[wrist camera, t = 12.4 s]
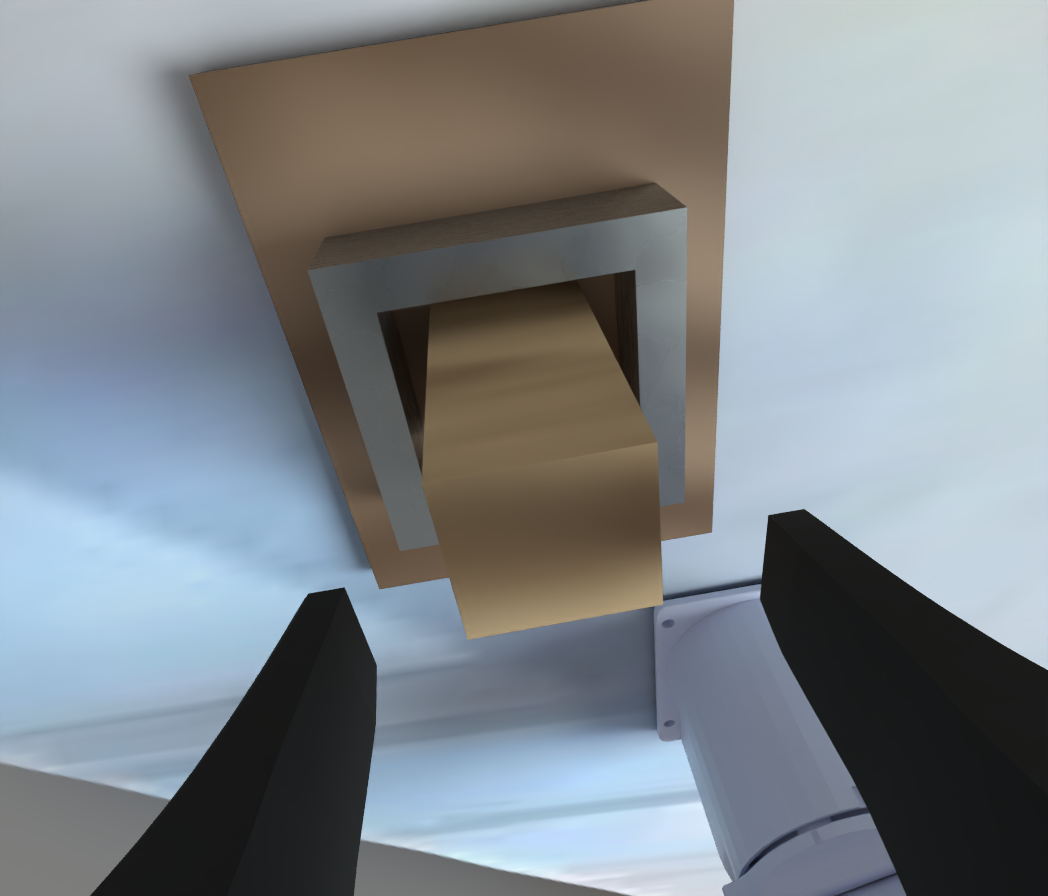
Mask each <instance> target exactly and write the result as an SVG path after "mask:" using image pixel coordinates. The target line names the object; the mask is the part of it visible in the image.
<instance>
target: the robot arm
mask: <svg viewBox="0 0 1048 896" xmlns="http://www.w3.org/2000/svg"><path fill="white" fill-rule="evenodd" d="M668 619H669V620H668ZM665 620H666V621H665ZM654 641H655V676H656V710H657V732H658V736H659V738H660V739H661V740H662V741H674V740H679V739H681V740H682V743H683V746H684V749H685V752H686V755H687V758H688V761H689V764H690V767H691V770H692V774H693V777H694V780H695V783H696V786H697V789H698V792H699V795H700V798H701V801H702V804H703V807H704V810H705V813H706V816H707V819H708V822H709V825H710V829H711V832H712V835H713V838H714V841H715V844H716V847H717V850H718V853H719V856H720V858H721V861H722V863H723V865H724V868H725V870H726V871H727V873H728V875H729V876H730V878H731V880H732V881H733V882H731V883H729V884H727V885H724V886H723V888H722V890H723V893H724V896H1048V670H1047V669H1045V668H1043V667H1041V666H1039V665H1037V664H1036V663H1034V662H1032V661H1030V660H1028V659H1027V658H1025V657H1023V656H1021V655H1019V654H1018V653H1016V652H1014V651H1013V650H1011V649H1009V648H1007V647H1006V646H1004V645H1002V644H1001V643H999V642H997V641H996V640H994V639H992V638H991V637H989V636H987V635H986V634H984V633H983V632H981V631H979V630H978V629H976V628H975V627H973V626H971V625H970V624H968V623H967V622H965V621H963V620H962V619H960V618H959V617H957V616H955V615H954V614H952V613H951V612H949V611H948V610H946V609H945V608H943V607H941V606H940V605H938V604H937V603H935V602H934V601H932V600H931V599H929V598H928V597H926V596H925V595H923V594H922V593H920V592H919V591H917V590H916V589H915V588H913V587H912V586H910V585H909V584H907V583H906V582H904V581H903V580H901V579H900V578H899V577H897V576H896V575H894V574H893V573H891V572H890V571H889V570H887V569H886V568H884V567H883V566H882V565H880V564H879V563H877V562H876V561H875V560H873V559H872V558H870V557H869V556H868V555H866V554H865V553H864V552H862V551H861V550H859V549H858V548H857V547H855V546H854V545H853V544H851V543H850V542H849V541H847V540H846V539H844V538H843V537H842V536H840V535H839V534H838V533H836V532H835V531H834V530H832V529H831V528H830V527H828V526H827V525H825V524H824V523H823V522H821V521H820V520H819V519H817V518H816V517H814V516H813V515H812V514H810V513H809V512H808V511H806V510H805V509H802V510H796V511H790V512H785V513H779V514H773V515H768V525H767V534H766V544H765V553H764V563H763V573H762V582H761V584H758V585H752V586H746V587H740V588H735V589H729V590H723V591H717V592H711V593H706V594H700V595H694V596H688V597H682V598H676V599H671V600H665V601H663V605H658V606H655V608H654ZM376 683H377V665H376V662H375V660H374V658H373V655H372V653H371V650H370V648H369V645H368V643H367V641H366V638H365V636H364V633H363V631H362V628H361V626H360V624H359V621H358V619H357V616H356V614H355V612H354V609H353V607H352V604H351V602H350V599H349V597H348V595H347V592H346V590H345V588H339V589H333V590H327V591H321V592H315V593H310V594H308V595H307V597H306V598H305V599H304V601H303V602H302V604H301V606H300V607H299V609H298V611H297V612H296V614H295V615H294V617H293V619H292V620H291V622H290V624H289V625H288V627H287V629H286V631H285V632H284V634H283V635H282V637H281V639H280V640H279V642H278V644H277V645H276V647H275V649H274V650H273V652H272V654H271V655H270V657H269V658H268V660H267V662H266V663H265V665H264V667H263V668H262V670H261V671H260V673H259V674H258V676H257V678H256V679H255V681H254V682H253V684H252V685H251V687H250V688H249V690H248V691H247V693H246V695H245V696H244V698H243V699H242V701H241V702H240V704H239V705H238V707H237V708H236V710H235V712H234V713H233V715H232V716H231V717H230V719H229V720H228V722H227V723H226V725H225V726H224V728H223V729H222V730H221V732H220V733H219V735H218V736H217V738H216V739H215V740H214V742H213V743H212V745H211V746H210V747H209V749H208V750H207V752H206V753H205V754H204V756H203V757H202V759H201V760H200V762H199V763H198V764H197V766H196V767H195V769H194V770H193V771H192V773H191V774H190V775H189V777H188V778H187V779H186V781H185V782H184V783H183V785H182V786H181V787H180V789H179V790H178V791H177V793H176V794H175V795H174V797H173V798H172V799H171V800H170V802H169V803H168V804H167V806H166V807H165V808H164V810H163V811H162V812H161V813H160V814H159V816H158V817H157V818H156V819H155V821H154V822H153V823H152V824H151V825H150V827H149V828H148V829H147V830H146V832H145V833H144V834H143V835H142V837H141V838H140V839H139V840H138V842H137V843H136V844H135V845H134V846H133V847H132V849H131V850H130V851H129V852H128V853H127V854H126V855H125V857H124V858H123V859H122V860H121V861H120V862H119V864H118V865H117V866H116V867H115V868H114V870H112V872H111V873H110V874H109V875H108V876H107V877H106V879H105V880H104V881H103V882H102V883H101V884H100V885H99V886H98V887H97V889H96V890H95V891H94V892H93V893H92V894H91V895H90V896H354V887H355V878H356V867H357V860H358V852H359V845H360V838H361V830H362V823H363V816H364V809H365V801H366V794H367V787H368V780H369V772H370V765H371V757H372V750H373V742H374V734H375V726H376Z"/></svg>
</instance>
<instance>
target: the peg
mask: <svg viewBox="0 0 1048 896" xmlns="http://www.w3.org/2000/svg"><path fill="white" fill-rule="evenodd" d="M422 487H423V491H424V494H425V497H426V501H427V504H428V507H429V511H430V514H431V518H432V521H433V524H434V528H435V531H436V534H437V538H438V541H439V544H440V548H441V551H442V555H443V558H444V561H445V565H446V568H447V571H448V575H449V578H450V581H451V585H452V588H453V592H454V595H455V598H456V602H457V605H458V608H459V612H460V615H461V618H462V622H463V625H464V629H465V632H466V635H467V639H468V640H470V639H476V638H481V637H487V636H492V635H498V634H503V633H509V632H514V631H520V630H525V629H531V628H536V627H542V626H548V625H553V624H559V623H564V622H570V621H575V620H581V619H586V618H592V617H597V616H603V615H608V614H614V613H619V612H625V611H631V610H636V609H642V608H647V607H653V606H658V605H663V586H662V557H661V528H660V499H659V470H658V442H657V440H656V438H655V436H654V434H653V432H652V430H651V428H650V426H649V424H648V422H647V420H646V418H645V416H644V414H643V412H642V410H641V408H640V406H639V404H638V402H637V400H636V398H635V396H634V394H633V392H632V390H631V388H630V386H629V384H628V382H627V380H626V378H625V376H624V374H623V372H622V370H621V368H620V366H619V364H618V362H617V360H616V358H615V356H614V354H613V352H612V350H611V348H610V346H609V344H608V342H607V340H606V338H605V336H604V334H603V332H602V330H601V328H600V326H599V324H598V322H597V320H596V318H595V316H594V314H593V312H592V310H591V308H590V306H589V304H588V302H587V300H586V298H585V296H584V294H583V292H582V290H581V288H580V286H579V284H578V282H577V280H573V281H567V282H562V283H556V284H550V285H545V286H539V287H534V288H528V289H522V290H517V291H511V292H506V293H500V294H494V295H489V296H483V297H478V298H472V299H466V300H461V301H455V302H450V303H444V304H438V305H433V306H430V315H429V337H428V359H427V380H426V402H425V423H424V445H423V467H422Z"/></svg>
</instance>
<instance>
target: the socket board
mask: <svg viewBox="0 0 1048 896" xmlns="http://www.w3.org/2000/svg"><path fill="white" fill-rule="evenodd" d="M733 12H734V0H645V1H639V2H632V3H626V4H620V5H614V6H608V7H602V8H595V9H589V10H583V11H577V12H571V13H565V14H558V15H552V16H546V17H540V18H534V19H528V20H521V21H515V22H509V23H503V24H497V25H491V26H484V27H478V28H472V29H466V30H460V31H454V32H447V33H441V34H435V35H429V36H423V37H417V38H410V39H404V40H398V41H392V42H386V43H380V44H373V45H367V46H361V47H355V48H349V49H342V50H336V51H330V52H324V53H318V54H312V55H305V56H299V57H293V58H287V59H281V60H275V61H268V62H262V63H256V64H250V65H244V66H238V67H231V68H225V69H219V70H213V71H207V72H201V73H197V74H193V75H189V77H190V80H191V83H192V85H193V88H194V91H195V93H196V96H197V99H198V101H199V104H200V107H201V110H202V112H203V115H204V118H205V120H206V123H207V126H208V128H209V131H210V134H211V136H212V139H213V142H214V145H215V147H216V150H217V153H218V155H219V158H220V161H221V163H222V166H223V169H224V172H225V174H226V177H227V180H228V182H229V185H230V188H231V190H232V193H233V196H234V199H235V201H236V204H237V207H238V209H239V212H240V215H241V217H242V220H243V223H244V225H245V228H246V231H247V234H248V236H249V239H250V242H251V244H252V247H253V250H254V252H255V255H256V258H257V261H258V263H259V266H260V269H261V271H262V274H263V277H264V279H265V282H266V285H267V287H268V290H269V293H270V296H271V298H272V301H273V304H274V306H275V309H276V312H277V314H278V317H279V320H280V323H281V325H282V328H283V331H284V333H285V336H286V339H287V341H288V344H289V347H290V349H291V352H292V355H293V358H294V360H295V363H296V366H297V368H298V371H299V374H300V376H301V379H302V382H303V385H304V387H305V390H306V393H307V395H308V398H309V401H310V403H311V406H312V409H313V412H314V414H315V417H316V420H317V422H318V425H319V428H320V430H321V433H322V436H323V438H324V441H325V444H326V447H327V449H328V452H329V455H330V457H331V460H332V463H333V465H334V468H335V471H336V474H337V476H338V479H339V482H340V484H341V487H342V490H343V492H344V495H345V498H346V500H347V503H348V506H349V509H350V511H351V514H352V517H353V519H354V522H355V525H356V527H357V530H358V533H359V536H360V538H361V541H362V544H363V546H364V549H365V552H366V554H367V557H368V560H369V563H370V565H371V568H372V571H373V573H374V576H375V579H376V581H377V584H378V587H379V589H384V588H390V587H396V586H402V585H408V584H413V583H419V582H425V581H431V580H437V579H443V578H448V577H449V575H448V571H447V568H446V565H445V561H444V558H443V555H442V551H441V548H440V544H439V541H438V538H437V534H436V531H435V528H434V524H433V521H432V518H431V514H430V511H429V507H428V504H427V501H426V497H425V494H424V491H423V487H422V467H423V445H424V423H425V402H426V380H427V359H428V337H429V315H430V306H433V305H438V304H444V303H450V302H455V301H461V300H466V299H472V298H478V297H483V296H489V295H494V294H500V293H506V292H511V291H517V290H522V289H528V288H534V287H539V286H545V285H550V284H556V283H562V282H567V281H573V280H577V282H578V284H579V286H580V288H581V290H582V292H583V294H584V296H585V298H586V300H587V302H588V304H589V306H590V308H591V310H592V312H593V314H594V316H595V318H596V320H597V322H598V324H599V326H600V328H601V330H602V332H603V334H604V336H605V338H606V340H607V342H608V344H609V346H610V348H611V350H612V352H613V354H614V356H615V358H616V360H617V362H618V364H619V366H620V368H621V370H622V372H623V374H624V376H625V378H626V380H627V382H628V384H629V386H630V388H631V390H632V392H633V394H634V396H635V398H636V400H637V402H638V404H639V406H640V408H641V410H642V412H643V414H644V416H645V418H646V420H647V422H648V424H649V426H650V428H651V430H652V432H653V434H654V436H655V438H656V440H657V442H658V470H659V499H660V528H661V541H665V540H670V539H676V538H682V537H688V536H694V535H700V534H705V533H711V532H712V518H713V494H714V470H715V446H716V422H717V398H718V374H719V349H720V325H721V301H722V277H723V253H724V229H725V205H726V181H727V157H728V132H729V108H730V84H731V60H732V36H733Z"/></svg>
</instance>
